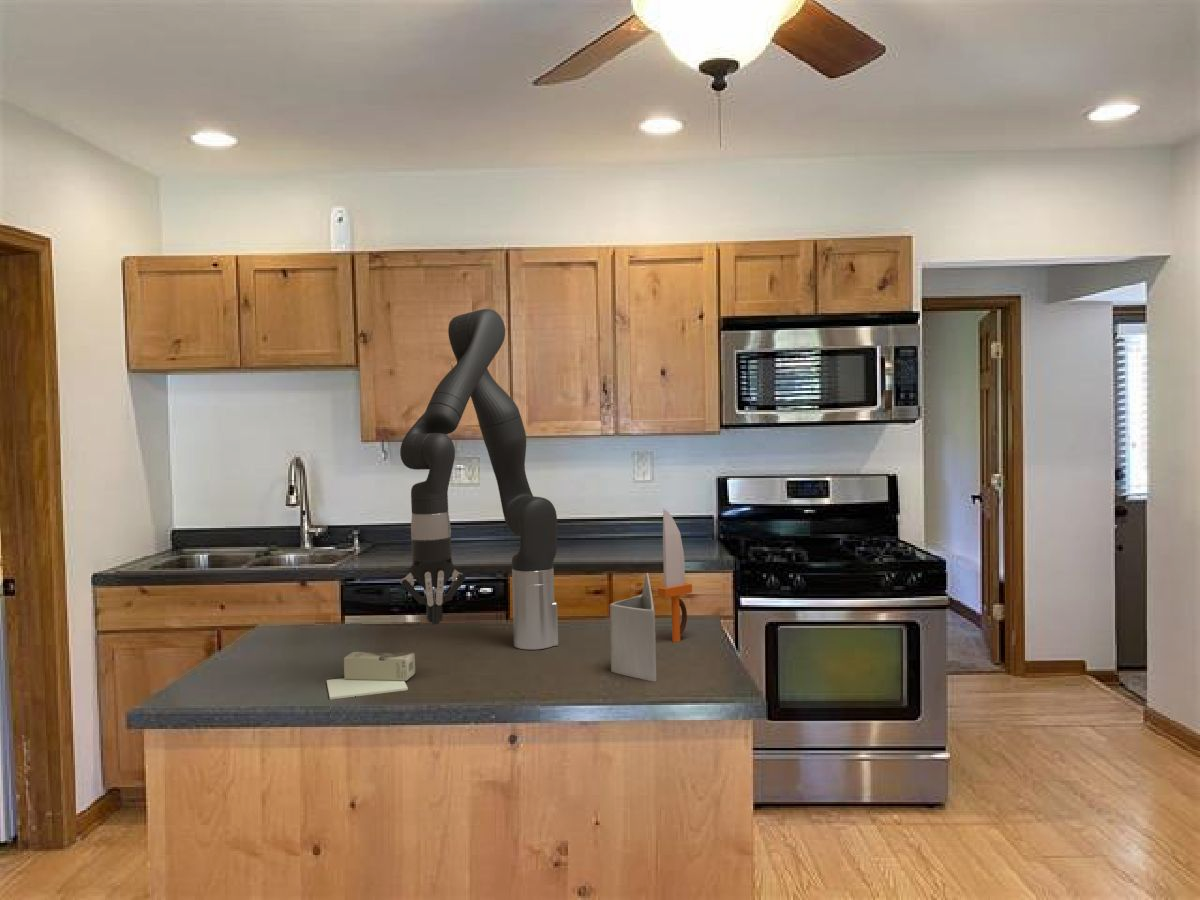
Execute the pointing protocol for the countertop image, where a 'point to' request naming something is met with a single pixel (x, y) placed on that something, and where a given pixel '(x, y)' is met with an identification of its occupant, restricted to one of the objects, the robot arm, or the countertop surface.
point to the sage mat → (362, 687)
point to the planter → (634, 636)
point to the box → (379, 666)
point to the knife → (674, 574)
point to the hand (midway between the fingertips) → (434, 623)
